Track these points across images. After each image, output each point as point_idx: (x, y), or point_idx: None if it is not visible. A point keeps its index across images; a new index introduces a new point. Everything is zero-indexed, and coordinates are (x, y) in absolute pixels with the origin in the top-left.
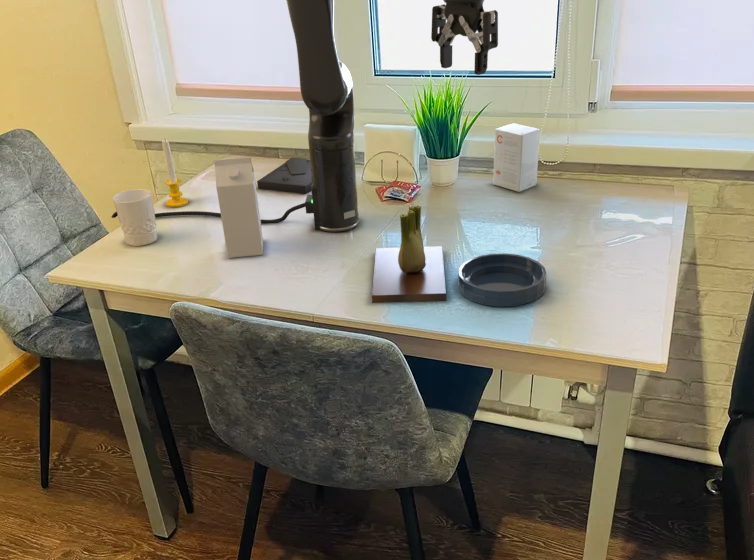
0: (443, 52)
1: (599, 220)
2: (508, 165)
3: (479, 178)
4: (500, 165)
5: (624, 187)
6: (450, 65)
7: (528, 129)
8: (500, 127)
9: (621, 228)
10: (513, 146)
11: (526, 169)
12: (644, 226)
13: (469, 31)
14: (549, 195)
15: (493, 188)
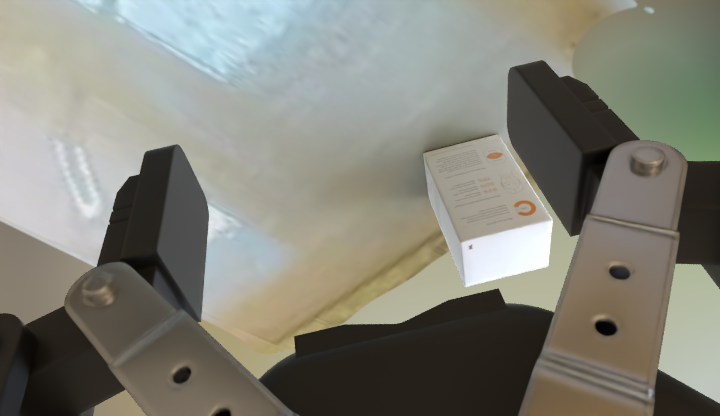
0: (565, 126)
1: None
2: (471, 177)
3: None
4: (495, 168)
5: (315, 296)
6: (510, 128)
7: (481, 269)
8: (548, 233)
9: None
10: (475, 212)
11: (435, 198)
12: None
13: (165, 402)
14: (368, 189)
15: (481, 123)
